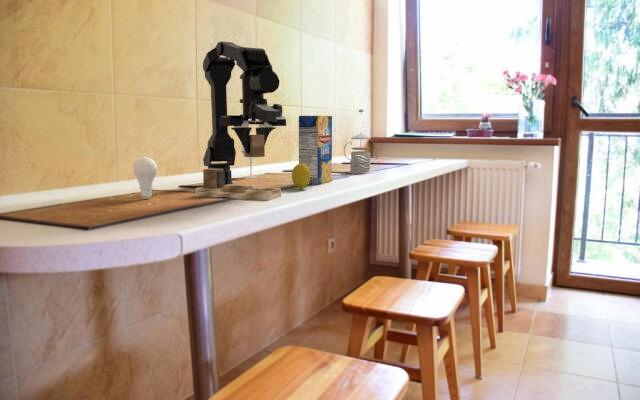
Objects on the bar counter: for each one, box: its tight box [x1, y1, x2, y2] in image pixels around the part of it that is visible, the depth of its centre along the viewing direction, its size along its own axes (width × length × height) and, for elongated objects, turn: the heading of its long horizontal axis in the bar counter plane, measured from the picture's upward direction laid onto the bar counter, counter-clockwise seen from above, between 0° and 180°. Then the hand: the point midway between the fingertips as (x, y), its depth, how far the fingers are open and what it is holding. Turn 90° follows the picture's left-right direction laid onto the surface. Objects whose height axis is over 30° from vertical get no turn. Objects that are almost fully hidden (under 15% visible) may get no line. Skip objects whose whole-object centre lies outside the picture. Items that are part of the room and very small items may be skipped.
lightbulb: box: [132, 156, 158, 200], centre depth 143 cm, size 6×6×11 cm
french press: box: [343, 108, 373, 175], centre depth 218 cm, size 10×12×25 cm
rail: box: [194, 168, 282, 201], centre depth 148 cm, size 22×8×7 cm, turn 70°
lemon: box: [291, 162, 310, 190], centre depth 164 cm, size 6×6×8 cm
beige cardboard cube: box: [243, 134, 266, 158], centre depth 150 cm, size 5×4×6 cm
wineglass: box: [240, 144, 258, 179], centre depth 198 cm, size 7×7×12 cm
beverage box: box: [298, 115, 333, 186], centre depth 181 cm, size 7×11×22 cm, turn 154°
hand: (254, 153), depth 150 cm, fingers closed on beige cardboard cube, 4 cm apart
